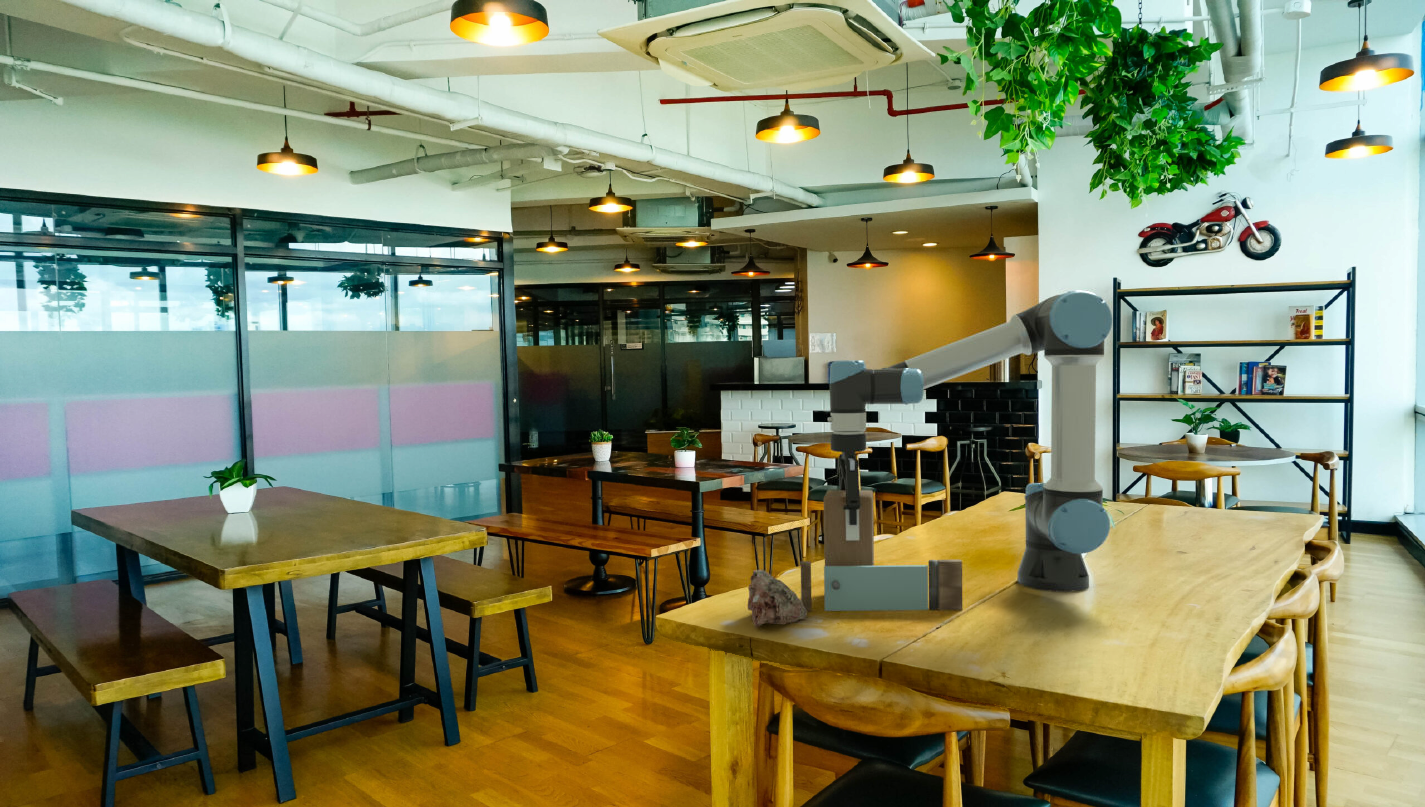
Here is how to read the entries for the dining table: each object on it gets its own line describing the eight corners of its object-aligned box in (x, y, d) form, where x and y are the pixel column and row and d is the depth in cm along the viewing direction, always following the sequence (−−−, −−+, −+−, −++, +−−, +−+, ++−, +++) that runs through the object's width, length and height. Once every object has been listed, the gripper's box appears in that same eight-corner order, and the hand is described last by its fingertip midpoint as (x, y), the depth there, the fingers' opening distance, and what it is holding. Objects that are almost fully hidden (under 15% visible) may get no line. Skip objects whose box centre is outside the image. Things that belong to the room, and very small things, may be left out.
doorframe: (960, 607, 184) (960, 559, 184) (962, 610, 183) (962, 561, 182) (801, 609, 186) (800, 561, 185) (801, 611, 184) (801, 563, 183)
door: (926, 608, 184) (926, 565, 184) (929, 611, 182) (929, 568, 181) (824, 609, 185) (824, 566, 185) (825, 612, 183) (825, 569, 182)
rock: (773, 561, 188) (820, 561, 176) (782, 613, 188) (829, 617, 175) (713, 577, 180) (758, 579, 167) (723, 632, 179) (768, 638, 167)
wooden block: (872, 592, 187) (871, 496, 186) (824, 590, 189) (823, 496, 188) (874, 580, 197) (873, 490, 196) (828, 579, 199) (827, 489, 198)
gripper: (825, 428, 203) (827, 525, 204) (835, 437, 180) (837, 546, 181) (859, 428, 203) (860, 524, 204) (873, 436, 180) (874, 545, 181)
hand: (849, 534), depth 192 cm, fingers closed on wooden block, 11 cm apart
